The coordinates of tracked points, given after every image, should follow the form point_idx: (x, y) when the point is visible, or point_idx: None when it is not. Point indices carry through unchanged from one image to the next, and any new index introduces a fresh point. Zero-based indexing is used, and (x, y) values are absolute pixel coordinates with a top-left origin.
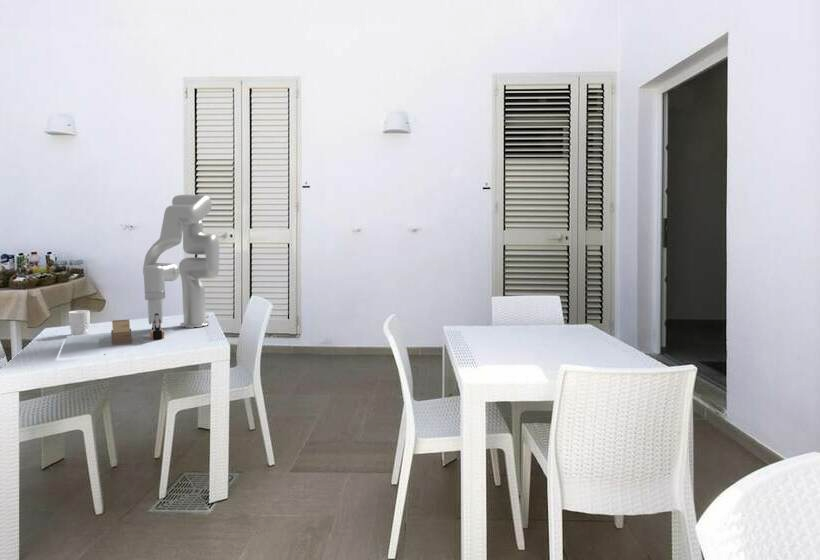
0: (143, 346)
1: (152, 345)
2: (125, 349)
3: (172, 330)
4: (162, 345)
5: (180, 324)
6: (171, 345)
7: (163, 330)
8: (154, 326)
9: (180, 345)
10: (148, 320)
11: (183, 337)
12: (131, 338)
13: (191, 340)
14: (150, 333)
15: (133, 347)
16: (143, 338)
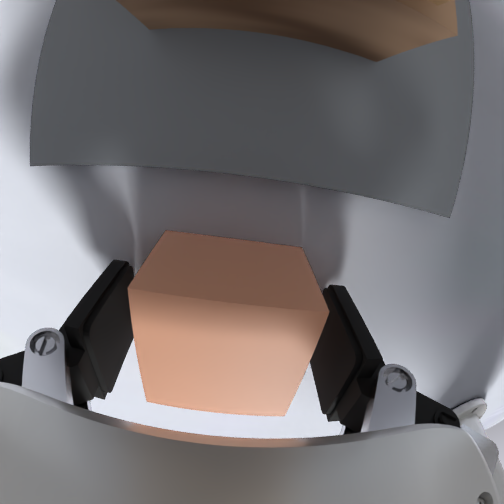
0: (16, 150)
1: (25, 220)
2: (6, 32)
3: (450, 383)
4: (17, 281)
5: (473, 406)
6: (15, 320)
7: (203, 410)
8: (27, 385)
9: (16, 349)
10: (386, 456)
11: (219, 421)
12: (136, 16)
13: (117, 418)
14: (133, 280)
15: (22, 73)
16: (262, 174)
